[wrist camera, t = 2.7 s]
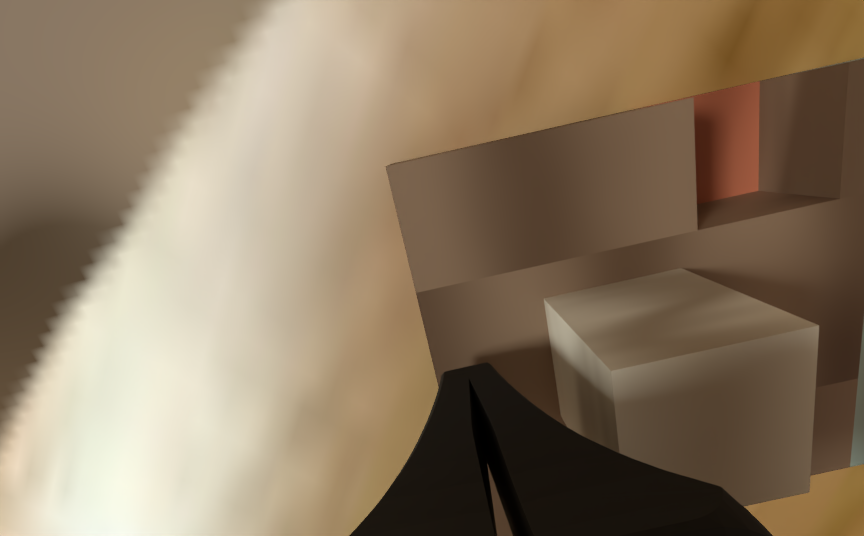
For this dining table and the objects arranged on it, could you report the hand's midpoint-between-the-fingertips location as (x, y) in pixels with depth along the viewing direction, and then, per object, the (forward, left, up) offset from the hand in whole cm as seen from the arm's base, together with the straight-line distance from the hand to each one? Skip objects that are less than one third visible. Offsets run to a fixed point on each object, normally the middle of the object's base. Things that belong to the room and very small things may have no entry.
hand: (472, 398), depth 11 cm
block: (-5, 0, -1) cm, 5 cm away
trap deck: (-8, 0, -4) cm, 9 cm away
